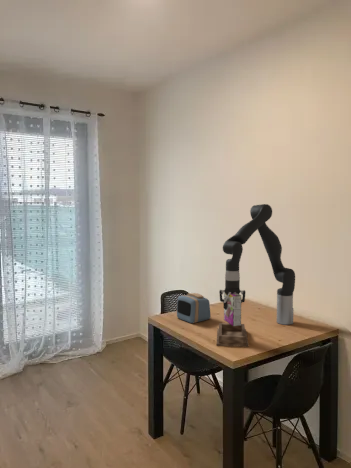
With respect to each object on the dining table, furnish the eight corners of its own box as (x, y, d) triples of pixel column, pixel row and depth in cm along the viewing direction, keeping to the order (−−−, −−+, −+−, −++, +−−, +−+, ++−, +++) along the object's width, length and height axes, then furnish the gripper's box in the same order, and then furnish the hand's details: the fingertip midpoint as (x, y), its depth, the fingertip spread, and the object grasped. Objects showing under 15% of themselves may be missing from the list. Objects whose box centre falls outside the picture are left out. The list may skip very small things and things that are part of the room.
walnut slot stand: (245, 331, 221) (245, 323, 220) (248, 346, 197) (248, 338, 197) (217, 330, 223) (217, 322, 222) (216, 345, 199) (216, 337, 198)
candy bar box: (223, 320, 213) (223, 290, 212) (231, 319, 215) (231, 290, 214) (232, 326, 203) (233, 295, 202) (241, 325, 205) (242, 294, 203)
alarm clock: (175, 318, 246) (175, 293, 244) (195, 313, 256) (195, 289, 254) (191, 324, 233) (191, 298, 231) (212, 319, 243) (212, 294, 241)
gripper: (245, 277, 210) (245, 308, 211) (218, 277, 212) (218, 307, 213) (246, 280, 202) (246, 311, 204) (218, 280, 204) (218, 311, 206)
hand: (232, 309), depth 208 cm, fingers closed on candy bar box, 6 cm apart
